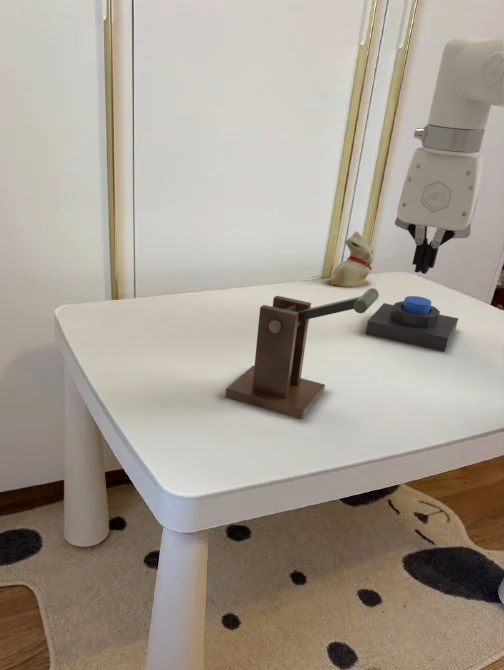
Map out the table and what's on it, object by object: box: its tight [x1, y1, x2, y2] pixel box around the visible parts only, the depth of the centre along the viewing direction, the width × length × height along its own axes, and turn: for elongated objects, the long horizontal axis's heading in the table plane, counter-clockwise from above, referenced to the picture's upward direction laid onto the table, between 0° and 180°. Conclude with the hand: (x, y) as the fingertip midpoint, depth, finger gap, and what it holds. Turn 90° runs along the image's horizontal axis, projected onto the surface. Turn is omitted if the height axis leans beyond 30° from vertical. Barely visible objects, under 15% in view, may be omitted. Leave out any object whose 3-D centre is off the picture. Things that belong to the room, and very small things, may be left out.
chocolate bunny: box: [329, 230, 375, 288], centre depth 119 cm, size 6×8×10 cm
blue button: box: [403, 295, 432, 314], centre depth 98 cm, size 4×4×2 cm
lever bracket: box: [225, 295, 326, 420], centre depth 76 cm, size 10×8×12 cm
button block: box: [365, 300, 459, 353], centre depth 99 cm, size 12×10×4 cm
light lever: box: [280, 287, 380, 327], centre depth 71 cm, size 12×5×2 cm, turn 62°
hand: (421, 270), depth 96 cm, fingers closed
